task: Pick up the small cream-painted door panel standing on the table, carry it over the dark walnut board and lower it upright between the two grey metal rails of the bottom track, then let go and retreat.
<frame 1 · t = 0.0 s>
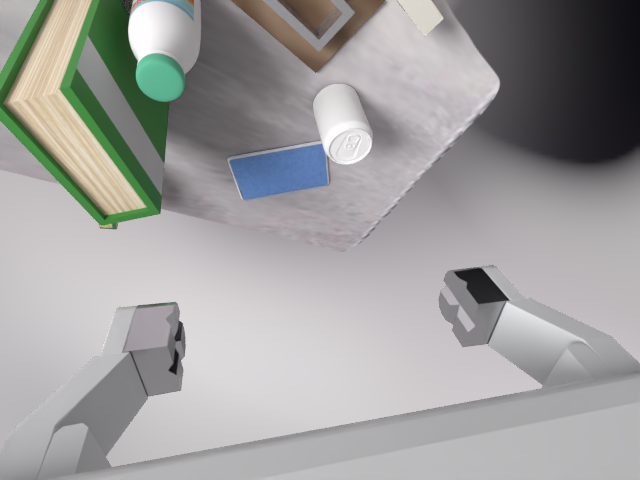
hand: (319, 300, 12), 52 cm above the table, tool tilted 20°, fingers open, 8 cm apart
tablet computer: (280, 168, 78), on the table
beverage can: (334, 101, 67), on the table
hardback book: (117, 49, 54), on the table
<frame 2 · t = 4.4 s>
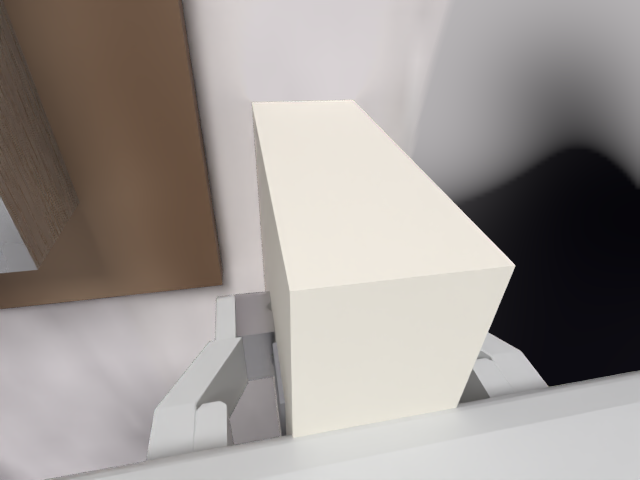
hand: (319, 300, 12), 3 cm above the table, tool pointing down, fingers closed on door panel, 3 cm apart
door panel: (302, 240, 14), on the table, touching gripper
when the fingers open (5 cm above the table, at t = 8.8 s): door panel stays where it is, resting on track board.
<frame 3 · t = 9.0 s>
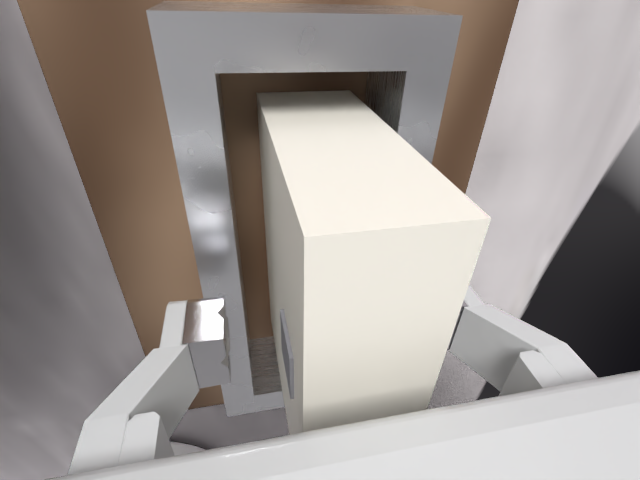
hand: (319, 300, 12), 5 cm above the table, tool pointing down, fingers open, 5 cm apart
track board: (294, 214, 16), on the table
door panel: (303, 224, 15), point 1 cm above the table, touching track board
bottom track: (303, 247, 14), on the track board, point 2 cm above the table
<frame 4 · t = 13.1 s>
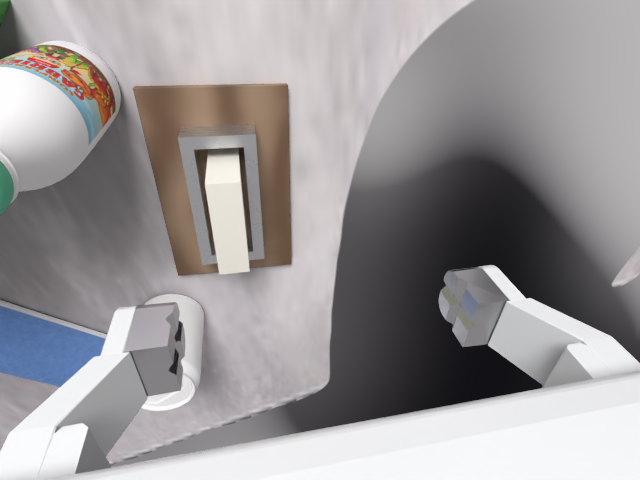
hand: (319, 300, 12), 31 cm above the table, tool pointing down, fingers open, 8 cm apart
track board: (226, 188, 43), on the table
door panel: (228, 191, 42), point 1 cm above the table, touching track board
tablet computer: (35, 341, 50), on the table
milk bottle: (75, 86, 34), on the table
beverage can: (173, 311, 51), on the table
bottom track: (226, 198, 41), on the track board, point 2 cm above the table
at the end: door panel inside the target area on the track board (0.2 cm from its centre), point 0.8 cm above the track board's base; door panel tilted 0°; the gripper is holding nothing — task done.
